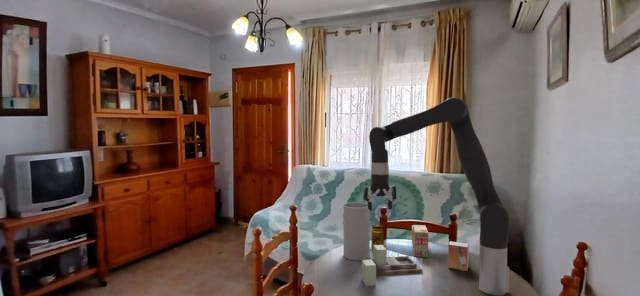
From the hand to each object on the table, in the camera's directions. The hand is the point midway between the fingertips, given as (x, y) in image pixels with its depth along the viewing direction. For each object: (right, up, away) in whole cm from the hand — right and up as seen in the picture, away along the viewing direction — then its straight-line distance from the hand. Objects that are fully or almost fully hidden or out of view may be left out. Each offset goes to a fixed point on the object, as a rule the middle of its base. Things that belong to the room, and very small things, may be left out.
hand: (379, 209), depth 146 cm
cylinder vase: (-8, -26, +16) cm, 31 cm away
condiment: (+4, -25, +28) cm, 38 cm away
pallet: (+6, -26, +2) cm, 27 cm away
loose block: (-7, -27, -12) cm, 30 cm away
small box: (+35, -26, +2) cm, 44 cm away
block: (0, -25, +1) cm, 25 cm away
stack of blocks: (+25, -25, +25) cm, 43 cm away
